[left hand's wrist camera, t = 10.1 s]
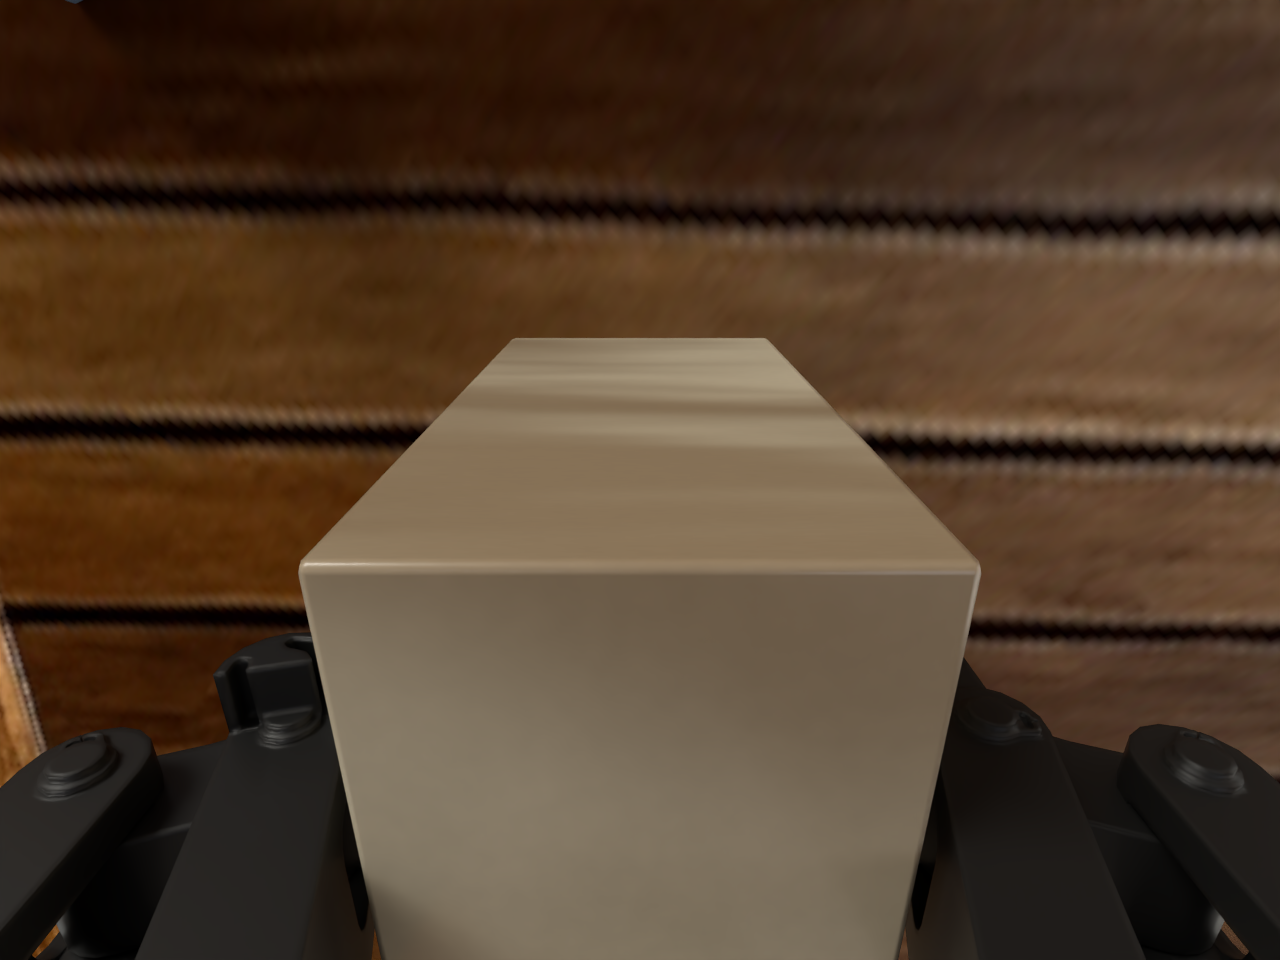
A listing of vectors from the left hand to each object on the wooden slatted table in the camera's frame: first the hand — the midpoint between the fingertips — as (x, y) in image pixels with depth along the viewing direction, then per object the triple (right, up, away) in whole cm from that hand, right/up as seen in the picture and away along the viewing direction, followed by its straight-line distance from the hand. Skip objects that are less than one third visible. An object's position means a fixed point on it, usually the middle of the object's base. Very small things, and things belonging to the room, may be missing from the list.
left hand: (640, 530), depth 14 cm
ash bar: (0, -8, +3) cm, 9 cm away
